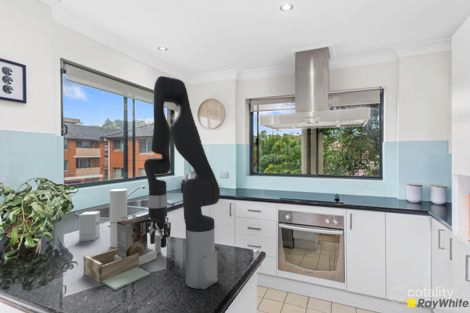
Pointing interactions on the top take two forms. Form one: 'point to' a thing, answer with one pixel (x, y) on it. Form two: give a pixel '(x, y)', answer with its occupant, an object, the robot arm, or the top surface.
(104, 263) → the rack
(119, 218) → the cylindrical container
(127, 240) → the coffee box
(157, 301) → the top surface
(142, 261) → the white frame with handle
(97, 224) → the supplement box
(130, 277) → the mat
